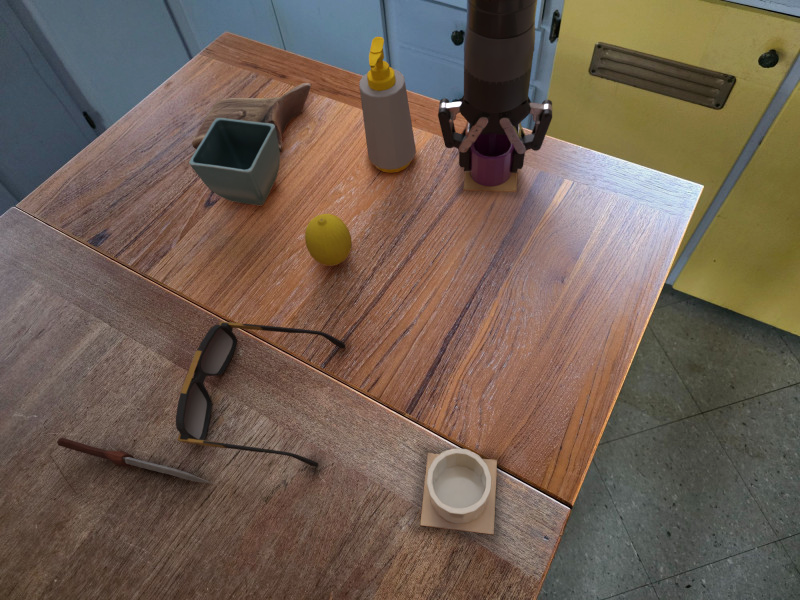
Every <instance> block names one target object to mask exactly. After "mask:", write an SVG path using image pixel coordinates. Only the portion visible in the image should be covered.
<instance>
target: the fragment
mask: <svg viewBox="0 0 800 600" xmlns="http://www.w3.org/2000/svg"><path fill="white" fill-rule="evenodd" d="M311 88H312V83H310V82H303V83H301V84H299V85H296V86H294V87H293V88H291V89H290V90H288V91H286V93H284V94H282V95H281V96H275V97H264V98H263V97H262V98H260V97H259V98H258V97H257V98H256V97H232V98H231V97H230V98H223V99H220V100H219V101H217V102H216V103H215V104H214V105H213V106H212V108H211V110H210V111H209V112H208V114H207V116H206V117H205V118H204V120H203V122H202V124H201V126H200V128H199V129H198V131H197V133H196V135H195V137H194V139H193V140H192V142H191V145H192V147H193V149H194V150H196V149H197V148H198V146H199V145H200V143H201V142H202V140H203V138H204V137H205V135H206V133H207V132H208V130H209V128H210V126H211V125H212V123H213V121H214V120H215V119H216V118H227V119H235V120H243V121H252V122H261V123H270V124H274V125H275V129H276V134H277V140H278V145H279V151H280V154H282V152H283V150H284V149H283V148H284V147H283V145H284V144H283V135H284V133H285V130H286V127H287V126H288V125H289V123H290V122H291V120H293V119H294V118H296V117H297V116H298V115H299V114H301V112H302V110H304V109H303V108H304V106H305V103H306V101H307V99H308V97H309V94H310V91H311Z"/></svg>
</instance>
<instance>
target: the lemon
mask: <svg viewBox="0 0 800 600" xmlns="http://www.w3.org/2000/svg"><path fill="white" fill-rule="evenodd" d="M304 233H305V234H304V240H305V246H306V249H307V251H308V253H309V255H310V256H311V257H312V258H313V259H314V261H315V262H317V263H318V264H321V265H323V266H326V267H327V266H329V267H331V266H337V265H339V264H342V263H343V262H345V261H346V259H347V258H348V256H349V254H350V253H351V250H352V246H353V245H352V244H353V242H352V235H351V232H350V230H349V227H348V226H347V224H346V223H345V222H344V221H343V220H342V218H341V217H338V216H337V215H335V214H332V213H321V214H318V215H316V216H314V217H313V218H312V219H311V220H310V221H309V222H308V224H307V226H306V228H305V232H304Z"/></svg>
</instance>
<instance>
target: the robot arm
mask: <svg viewBox="0 0 800 600" xmlns="http://www.w3.org/2000/svg"><path fill="white" fill-rule="evenodd" d="M537 6H538V0H466V26H465V30H464V31H465V32H464V39H463V95H462V97H461V98H460V100H459V101H453V102H450V100H449V99H448V98H445V97H444V98H441V99H440V100H439V105H438V112H437V119H438V123H439V127H440V131H441V133H442V139H443V142H444V147H445V148H447V149H453V148H456V149H457V150H458V166H459V167H460V168H463V172H465V171H469V157H470V150H469V148H470V146H471V145H472V143H474V142H475V141H476V139H477V138H478V136H479V135H480V133H481V134H492V133H494V134H498V135H507V137H508V139H509V141H510V143H512V144H513V146H514V148H515V150H514V157H513V166H512V173H517V174H518V170H522V169H523V168H524V162H525V156H526V155H525V154H526V153H527V151H529V150H532V151H539V150H541V148H542V145H543V143H544V140H545V137H546V135H547V133H548V130H549V128H550V124H551V122H552V120H553V101H552V100H551V99H544V100H543V101H542V102H541V103H540V102H539V103H538V102H532V100H531V99H530V97H529V91H530V84H531V76H532V68H533V59H534V53H535V45H536V15H537V8H538V7H537ZM458 114H460V115H461V116H462V118H464V120H466V125H465V126H464V128H463V130H462V131H461V133H460V132H458V131H457V132H456V127H455V123H454V122H455V120H456V119H457V115H458ZM529 115H531V116H532V121H533V122H534V125H533V127H532V130H531V133H529V134H526V133H525V131H524V129H523V126H522V122H523V121H524V120H525V119H526V118H527V117H528V116H529Z"/></svg>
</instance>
